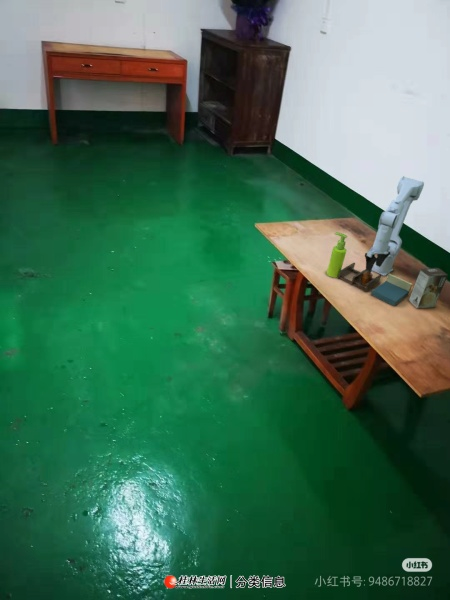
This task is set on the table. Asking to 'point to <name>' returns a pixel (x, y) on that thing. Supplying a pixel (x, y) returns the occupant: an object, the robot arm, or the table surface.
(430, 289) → the coffee box
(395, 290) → the sill
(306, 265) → the table surface
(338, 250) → the soap dispenser
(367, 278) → the bottle
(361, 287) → the shelf rack
